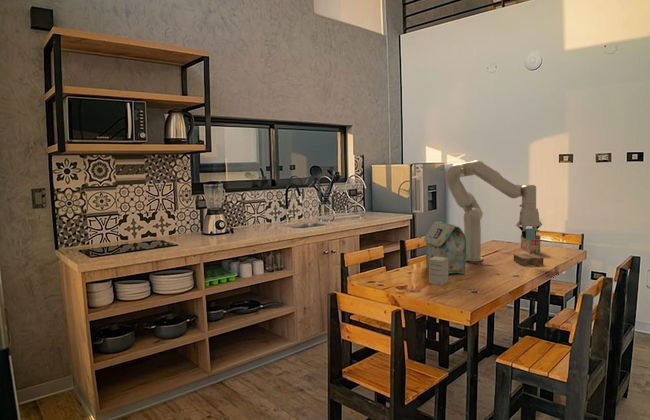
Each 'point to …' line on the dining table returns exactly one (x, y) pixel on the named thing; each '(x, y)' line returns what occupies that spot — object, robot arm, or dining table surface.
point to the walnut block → (528, 259)
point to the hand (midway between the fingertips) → (528, 237)
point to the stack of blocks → (531, 245)
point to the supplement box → (438, 270)
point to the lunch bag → (447, 245)
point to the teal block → (530, 234)
